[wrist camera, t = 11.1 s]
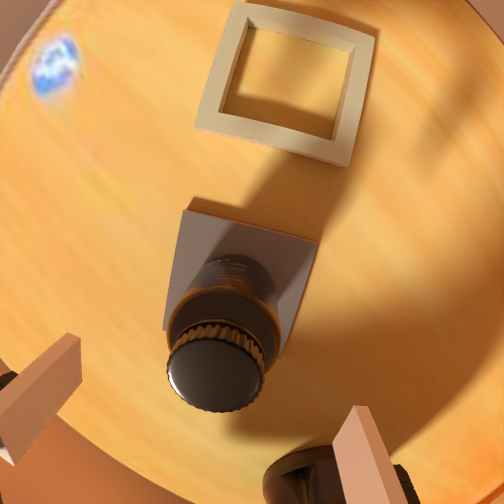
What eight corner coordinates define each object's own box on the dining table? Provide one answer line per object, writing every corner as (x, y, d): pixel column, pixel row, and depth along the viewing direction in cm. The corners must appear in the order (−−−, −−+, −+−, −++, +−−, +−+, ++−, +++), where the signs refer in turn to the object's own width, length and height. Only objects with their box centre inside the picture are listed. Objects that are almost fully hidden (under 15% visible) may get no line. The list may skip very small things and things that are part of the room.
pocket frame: (368, 45, 21) (375, 37, 19) (341, 167, 24) (348, 166, 22) (236, 11, 21) (234, 0, 19) (198, 131, 23) (193, 127, 21)
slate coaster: (315, 241, 25) (317, 243, 24) (279, 353, 28) (280, 359, 27) (186, 208, 25) (183, 210, 24) (165, 325, 27) (162, 329, 26)
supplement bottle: (284, 317, 26) (298, 416, 14) (208, 335, 26) (177, 433, 15) (263, 241, 24) (264, 301, 12) (182, 263, 25) (123, 332, 13)
